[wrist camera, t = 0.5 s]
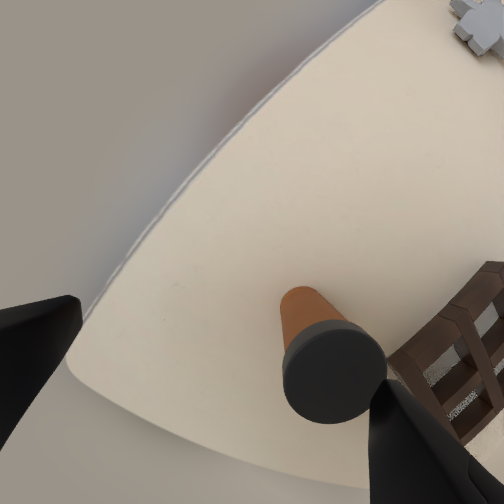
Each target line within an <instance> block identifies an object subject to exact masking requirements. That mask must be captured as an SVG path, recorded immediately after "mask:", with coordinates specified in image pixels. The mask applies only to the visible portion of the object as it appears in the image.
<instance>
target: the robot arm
mask: <svg viewBox="0 0 504 504" xmlns="http://www.w3.org/2000/svg"><path fill="white" fill-rule="evenodd" d="M82 324H83V319H82V310H81V302H80V300H79V299H78V298H76V297H73V296H71V295H65V296H60V297H56V298H52V299H47V300H43V301H38V302H33V303H29V304H25V305H20V306H15V307H10V308H6V309H1V310H0V451H1V449H2V447H3V446H4V444H5V443H6V441H7V439H8V438H9V436H10V435H11V433H12V431H13V430H14V428H15V427H16V425H17V424H18V422H19V421H20V419H21V418H22V416H23V415H24V413H25V412H26V410H27V409H28V407H29V406H30V405H31V403H32V402H33V400H34V399H35V397H36V396H37V395H38V393H39V392H40V390H41V389H42V387H43V386H44V385H45V383H46V382H47V380H48V379H49V378H50V376H51V375H52V374H53V372H54V371H55V370H56V368H57V367H58V365H59V364H60V362H61V361H62V359H63V358H64V356H65V354H66V352H67V351H68V349H69V347H70V346H71V344H72V343H73V341H74V339H75V338H76V336H77V334H78V333H79V331H80V330H81V328H82ZM368 458H369V479H370V504H504V485H503V484H502V483H501V482H499V481H498V480H497V479H496V478H495V477H494V476H492V474H490V473H489V472H488V471H487V470H486V469H485V468H484V467H483V466H482V465H481V464H480V463H479V462H478V461H477V460H476V459H475V458H474V457H473V456H472V455H470V453H469V452H468V451H467V450H466V449H465V448H464V447H463V446H462V445H461V444H460V443H459V442H458V441H457V440H456V438H455V437H454V436H453V435H452V434H451V433H450V432H449V431H448V430H447V429H446V428H445V427H444V426H443V425H442V424H441V423H440V422H439V421H438V420H437V419H436V418H435V417H434V416H433V415H432V414H431V413H430V412H429V411H428V410H427V409H426V408H425V407H424V406H423V405H422V404H421V403H420V402H419V401H418V400H417V399H416V398H415V397H414V396H413V395H412V394H411V393H410V392H409V391H408V390H407V389H406V388H405V387H404V386H403V385H402V384H401V383H400V382H399V381H397V380H392V379H384V380H383V381H382V382H381V384H380V385H379V387H378V389H377V390H376V392H375V394H374V395H373V397H372V399H371V402H370V413H369V440H368Z"/></svg>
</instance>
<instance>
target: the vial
mask: <svg viewBox="0 0 504 504" xmlns="http://www.w3.org/2000/svg"><path fill="white" fill-rule="evenodd" d="M280 310H281V320H282V330H283V339H284V349H285V355H284V358H283V365H282V371H283V388H284V393H285V396H286V399H287V401H288V403H289V404H290V406H291V407H292V408H293V410H295V411H296V412H297V413H298V414H299V415H300V416H302V417H304V418H305V419H307V420H310V421H312V422H316V423H321V424H337V423H342V422H346V421H349V420H351V419H354V418H356V417H358V416H359V415H361V414H362V413H364V412H365V411H366V410H368V409H369V408H370V402H371V399H372V397H373V395H374V394H375V392H376V390H377V389H378V387H379V385H380V384H381V382H382V381H383V380H384V379H386V378H387V361H386V357H385V354H384V352H383V350H382V348H381V347H380V345H379V344H378V343H377V342H376V341H375V340H374V339H373V338H372V337H371V336H370V335H369V334H367V333H366V332H365V331H364V330H363V329H362V328H361V327H359V326H357V325H356V324H354V323H351V322H349V321H348V320H347V319H346V318H344V317H343V316H342V315H341V314H340V313H339V312H338V311H337V310H336V309H335V308H334V307H333V306H332V305H331V304H330V303H329V302H328V301H327V300H325V299H324V298H323V297H322V296H321V295H320V294H319V293H318V292H317V291H316V290H314V289H312V288H310V287H305V286H301V287H296V288H294V289H292V290H290V291H289V292H288V293H287V294H286V295H285V296H284V297H283V299H282V302H281V307H280Z"/></svg>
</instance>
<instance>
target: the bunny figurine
mask: <svg viewBox="0 0 504 504" xmlns="http://www.w3.org/2000/svg"><path fill="white" fill-rule="evenodd" d="M449 5H450V6H451V7H452V8H453V9H454V10H455V12H456V13H457V14H458V15H459V17H460V18H461V20H460V21H459V22H458V23H457V24H456V26H455V27H454V29H453V31H454V32H455V33H456V34H457V35H458V36H459V37H460V38H461V39H462V40H463V41H468V46H469V47H470V48H471V49H472V50H473V51H474V52H475V53H476V54H477V55H478V56H479V55H484V54H485V53H486V52H487V51H488V50H489V49H491V50H493V51H494V52H495V53H496V54H498V55H499V56H500V57H501V58H502V59H504V5H503V4H502V3H501V0H483V1H482V2H481V4H479V3H477V2H475V1H473V0H451V2H450V3H449Z"/></svg>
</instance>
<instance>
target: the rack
mask: <svg viewBox="0 0 504 504" xmlns="http://www.w3.org/2000/svg"><path fill="white" fill-rule="evenodd" d="M492 301H493V303H494V305H495V308H496V310H497V313H498V315H499V317H500V318H499V319H498V320H497V321H496V322H495V323H494V325H493V326H492V327H491V328H490V329H489V330H488V332H487V333H486V334H485V335H484V336H483V337H482V338H480V336H479V334H478V332H477V330H476V328H475V325H474V323H473V322H474V321H475V320H476V319H477V318H478V317H479V316H480V315H481V313H482V312H483V311H484V310H485V309H486V308H487V307H488V305H489V304H490V303H491V302H492ZM452 344H453V345H454V347H455V349H456V351H457V353H458V355H459V357H460V359H461V361H460V362H459V363H458V364H456V365H455V366H454V367H453V368H452V369H451V370H450V371H449V372H448V373H447V374H446V375H445V376H444V377H443V378H442V379H441V380H440V381H438V382H437V383H436V384H435V385H434V386H433V387H432V388H430V386H429V385H428V383H427V381H426V380H425V378H424V376H423V375H422V372H423V371H424V370H426V369H427V368H428V367H429V366H430V365H431V364H432V363H433V362H434V361H435V360H437V359H438V358H439V357H440V356H441V355H442V354H443V353H444V352H445V351H446V350H447V349H448V348H449V347H450V346H451V345H452ZM503 358H504V262H496V261H486V262H485V264H484V265H483V266H482V267H481V268H480V270H479V271H478V272H477V273H476V274H475V275H474V276H473V277H472V278H471V279H470V281H469V282H468V283H467V284H466V285H465V286H464V287H463V288H462V289H461V290H460V291H459V292H458V294H457V295H456V296H455V297H454V298H453V299H452V300H451V301H450V302H449V303H448V304H447V305H446V306H445V307H444V308H443V309H442V310H441V311H440V312H439V313H438V314H437V315H436V316H435V317H434V318H433V319H432V320H431V321H430V322H428V323H427V324H426V325H425V326H424V327H423V328H422V329H421V330H420V331H419V332H418V333H417V334H415V335H414V336H413V337H412V338H411V339H410V340H409V341H408V342H406V343H405V344H404V345H403V346H402V347H401V348H400V349H398V350H397V351H396V352H395V353H394V354H392V355H391V356H390V357H389V358H387V359H386V361H387V363H388V364H389V366H390V367H391V369H392V370H393V372H394V373H395V375H396V376H397V377H398V379H399V380H400V382H401V383H402V385H403V386H404V387H405V388H406V389H407V390H408V391H409V392H410V393H411V394H412V395H413V396H414V397H415V398H416V399H417V400H418V401H419V402H420V403H421V404H422V405H423V406H424V407H425V408H426V409H427V410H428V411H429V412H430V413H431V414H432V415H433V416H434V417H435V418H436V419H437V420H438V421H439V422H440V423H441V424H442V425H443V426H444V427H445V428H446V429H447V430H448V431H449V432H450V433H451V434H452V435H453V436H454V437H455V438H456V440H457V441H458V442H459V443H460V444H461V445H462V446H465V445H466V444H467V443H469V442H470V441H471V440H472V439H473V438H474V437H475V436H476V435H477V434H478V433H479V432H480V431H481V430H483V429H484V428H485V427H486V426H487V425H488V424H489V423H490V422H491V421H492V420H493V419H494V418H495V417H496V415H497V414H498V413H499V412H500V411H501V410H502V409H503V408H504V369H503V370H502V371H501V372H500V373H499V374H498V376H497V377H496V375H495V372H494V370H493V369H494V368H495V367H496V366H497V365H498V363H499V362H500V361H501V360H502V359H503ZM474 389H475V390H476V392H477V395H478V397H477V398H476V399H475V400H474V401H473V402H472V403H471V404H470V405H469V406H467V407H466V408H465V409H464V410H463V411H462V412H461V413H460V414H459V415H458V416H457V417H456V418H454V419H453V420H452V421H451V422H450V421H449V419H448V417H447V414H449V413H450V412H451V411H452V410H453V409H454V408H455V407H456V406H457V405H458V404H460V403H461V402H462V401H463V400H464V399H465V398H466V397H467V396H468V395H469V394H470V393H471V392H472V391H473V390H474Z"/></svg>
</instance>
